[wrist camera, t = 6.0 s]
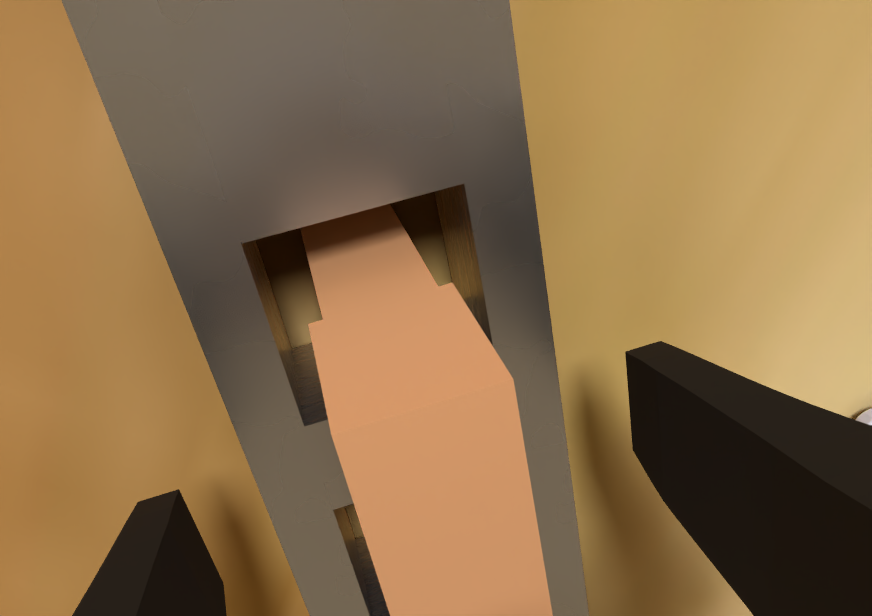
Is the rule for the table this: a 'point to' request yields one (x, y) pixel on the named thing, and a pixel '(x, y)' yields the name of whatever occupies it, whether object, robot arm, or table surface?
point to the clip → (422, 427)
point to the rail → (328, 199)
